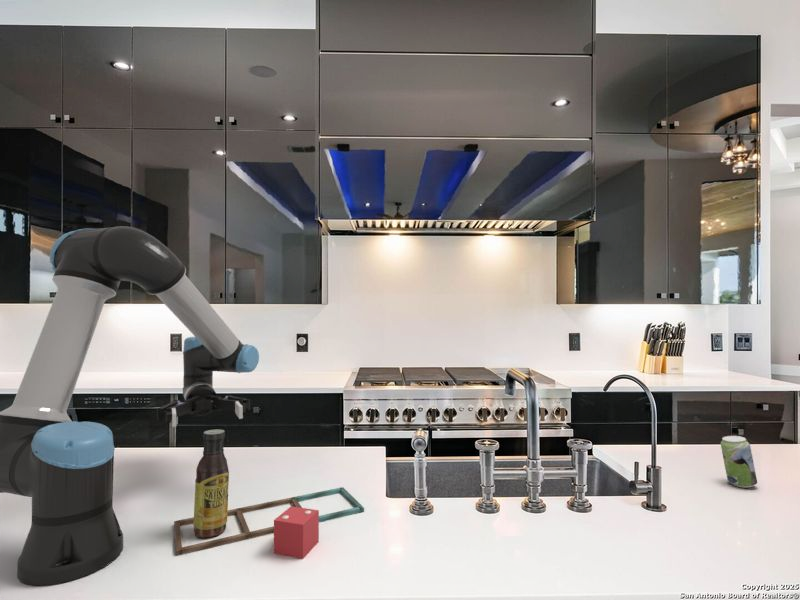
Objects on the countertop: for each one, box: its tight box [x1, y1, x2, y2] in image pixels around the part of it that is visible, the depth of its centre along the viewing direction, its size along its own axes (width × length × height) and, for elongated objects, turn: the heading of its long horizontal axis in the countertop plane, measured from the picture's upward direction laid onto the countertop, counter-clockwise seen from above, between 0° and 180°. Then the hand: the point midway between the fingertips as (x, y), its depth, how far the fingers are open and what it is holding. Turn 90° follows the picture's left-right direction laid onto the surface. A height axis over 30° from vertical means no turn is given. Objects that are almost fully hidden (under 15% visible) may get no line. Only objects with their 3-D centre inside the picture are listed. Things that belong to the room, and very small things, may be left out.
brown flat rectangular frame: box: [173, 486, 365, 556], centre depth 95 cm, size 37×13×1 cm, turn 118°
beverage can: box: [720, 435, 758, 489], centre depth 112 cm, size 6×7×12 cm
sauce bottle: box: [193, 429, 230, 539], centre depth 89 cm, size 6×6×20 cm
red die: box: [273, 505, 320, 559], centre depth 83 cm, size 6×6×6 cm
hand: (208, 416), depth 99 cm, fingers open, 13 cm apart
